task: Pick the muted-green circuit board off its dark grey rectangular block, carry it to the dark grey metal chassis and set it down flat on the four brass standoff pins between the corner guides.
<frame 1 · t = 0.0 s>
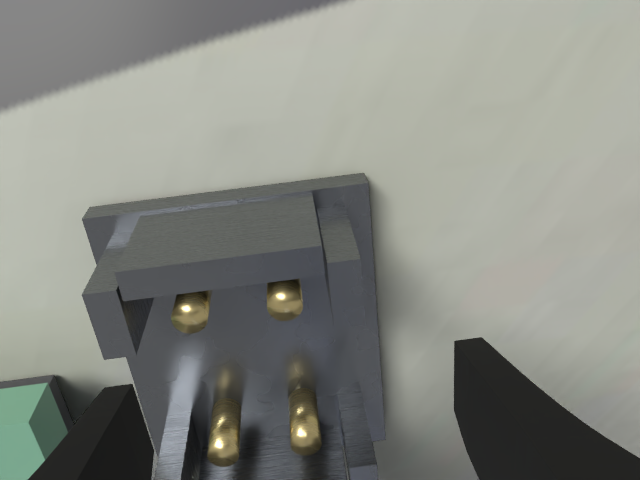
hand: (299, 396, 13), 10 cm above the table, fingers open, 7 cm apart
board: (20, 477, 24), point 2 cm above the table, touching dark grey rectangular block
chassis: (253, 328, 24), on the table
dark grey rectangular block: (40, 432, 26), on the table
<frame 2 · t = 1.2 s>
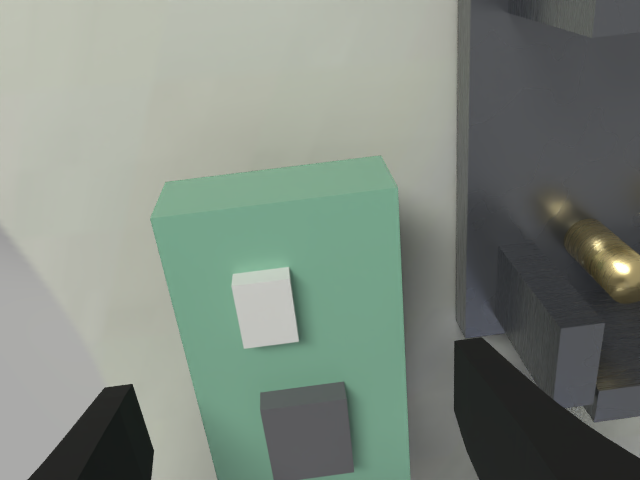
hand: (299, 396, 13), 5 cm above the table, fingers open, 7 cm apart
board: (296, 327, 16), point 2 cm above the table, touching dark grey rectangular block
chassis: (636, 111, 16), on the table
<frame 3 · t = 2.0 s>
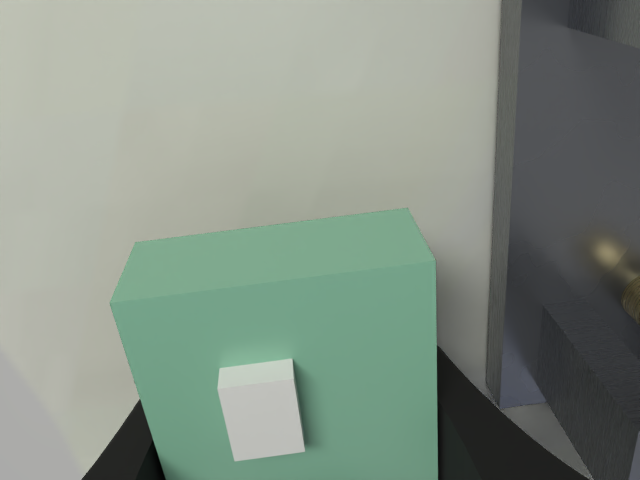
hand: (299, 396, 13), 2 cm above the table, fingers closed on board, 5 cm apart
board: (300, 409, 13), point 2 cm above the table, touching gripper, dark grey rectangular block
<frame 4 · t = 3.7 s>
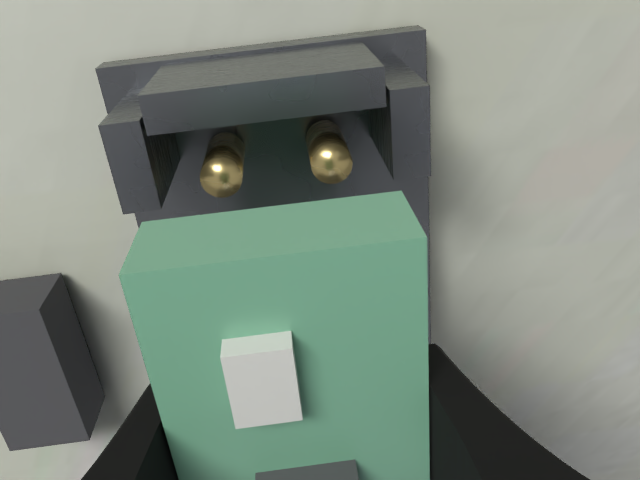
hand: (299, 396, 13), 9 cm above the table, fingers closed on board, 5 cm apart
board: (298, 386, 13), point 9 cm above the table, touching gripper
chassis: (286, 219, 21), on the table
dark grey rectangular block: (45, 343, 23), on the table
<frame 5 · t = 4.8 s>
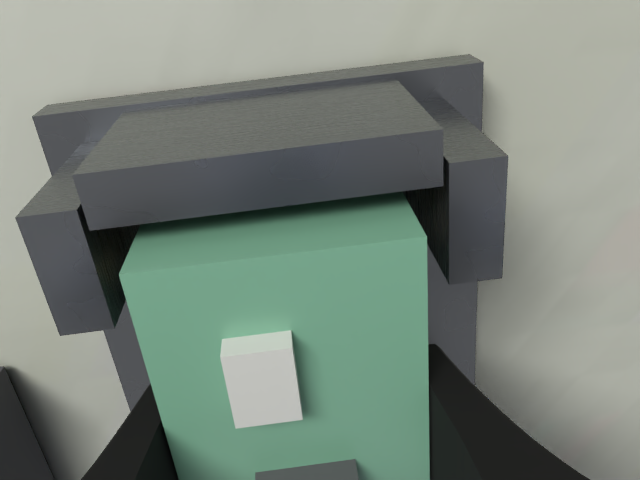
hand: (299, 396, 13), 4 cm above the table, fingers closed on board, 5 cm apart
board: (298, 386, 13), point 4 cm above the table, touching gripper
chassis: (292, 299, 17), on the table
when the fingers open (4 cm above the table, at t = 5.5 s): board stays where it is, resting on chassis.
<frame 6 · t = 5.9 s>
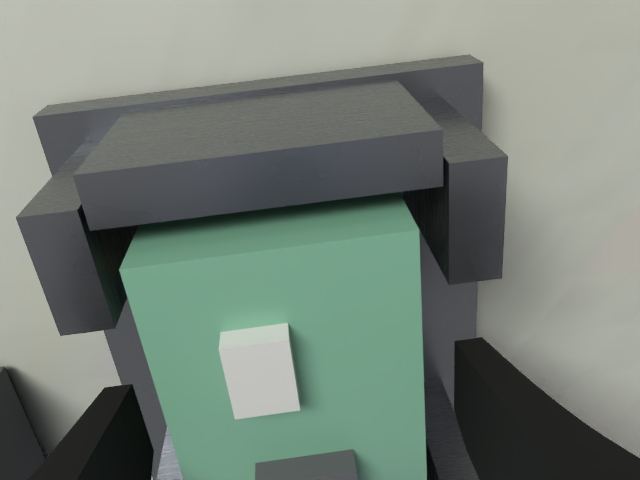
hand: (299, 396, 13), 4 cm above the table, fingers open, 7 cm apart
board: (297, 379, 14), point 3 cm above the table, touching chassis
chassis: (292, 299, 17), on the table
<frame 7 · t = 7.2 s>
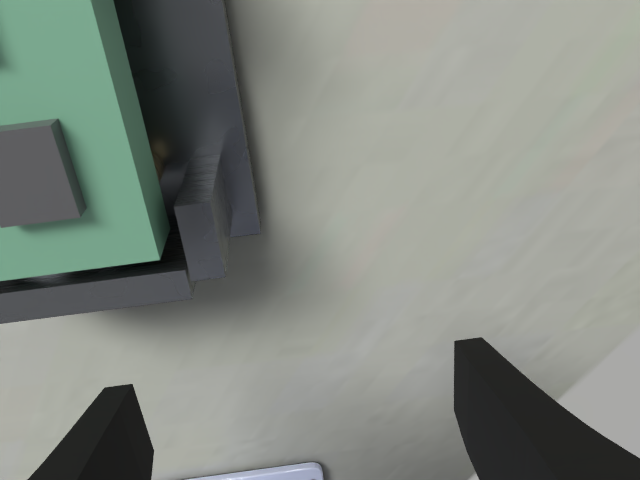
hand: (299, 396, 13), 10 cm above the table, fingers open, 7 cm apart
board: (40, 92, 16), point 3 cm above the table, touching chassis
chassis: (78, 69, 19), on the table
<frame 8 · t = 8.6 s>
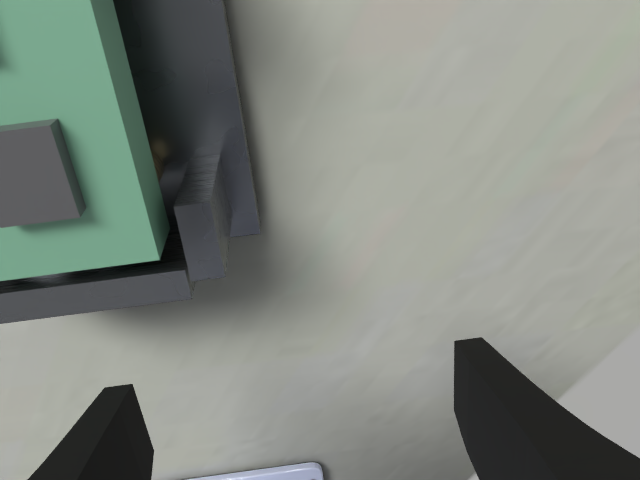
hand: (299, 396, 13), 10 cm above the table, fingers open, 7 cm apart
board: (40, 92, 16), point 3 cm above the table, touching chassis
chassis: (78, 69, 19), on the table
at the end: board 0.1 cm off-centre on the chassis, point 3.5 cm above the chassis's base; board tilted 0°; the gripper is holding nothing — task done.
